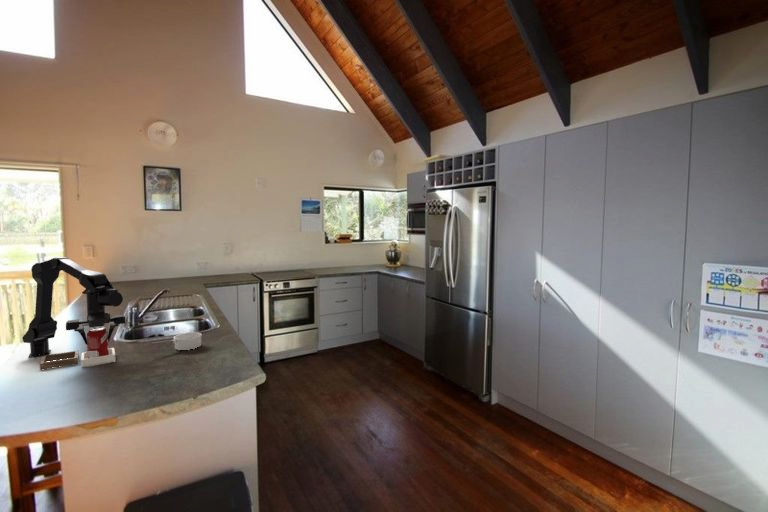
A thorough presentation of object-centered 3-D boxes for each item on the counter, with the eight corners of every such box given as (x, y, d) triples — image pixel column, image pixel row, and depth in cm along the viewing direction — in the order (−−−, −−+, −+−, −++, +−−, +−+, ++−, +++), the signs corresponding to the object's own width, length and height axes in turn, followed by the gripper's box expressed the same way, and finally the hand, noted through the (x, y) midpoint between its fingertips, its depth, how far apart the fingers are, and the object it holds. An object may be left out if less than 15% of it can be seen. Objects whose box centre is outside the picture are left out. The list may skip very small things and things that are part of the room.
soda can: (97, 361, 145) (95, 331, 144) (83, 359, 146) (81, 330, 145) (113, 355, 152) (111, 327, 151) (99, 354, 153) (98, 325, 152)
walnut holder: (43, 361, 147) (42, 355, 147) (78, 356, 154) (78, 350, 154) (40, 370, 139) (39, 363, 138) (78, 363, 145) (77, 357, 145)
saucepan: (148, 352, 159) (147, 340, 159) (196, 342, 174) (196, 330, 174) (157, 359, 152) (156, 346, 151) (206, 347, 167) (206, 335, 166)
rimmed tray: (82, 359, 150) (81, 352, 150) (114, 354, 156) (114, 347, 156) (81, 367, 142) (81, 360, 141) (115, 361, 148) (115, 354, 148)
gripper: (63, 311, 135) (66, 353, 136) (125, 305, 147) (127, 343, 148) (65, 306, 144) (67, 345, 145) (123, 301, 155) (125, 337, 157)
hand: (97, 342), depth 148 cm, fingers closed on soda can, 7 cm apart
